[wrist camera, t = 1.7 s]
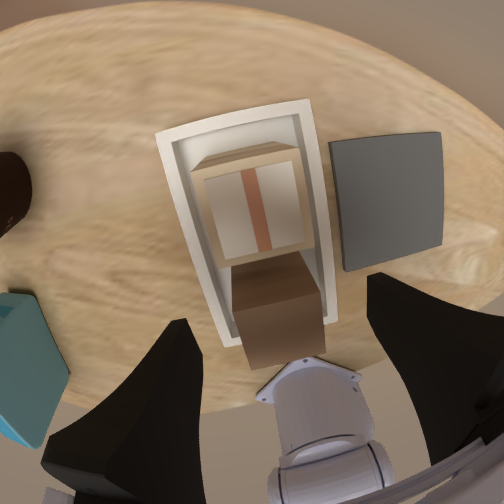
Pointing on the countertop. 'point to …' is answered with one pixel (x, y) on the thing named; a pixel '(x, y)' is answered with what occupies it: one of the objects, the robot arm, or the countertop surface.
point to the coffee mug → (13, 190)
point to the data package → (27, 371)
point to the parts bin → (230, 138)
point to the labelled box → (254, 203)
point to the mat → (388, 196)
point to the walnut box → (277, 310)
